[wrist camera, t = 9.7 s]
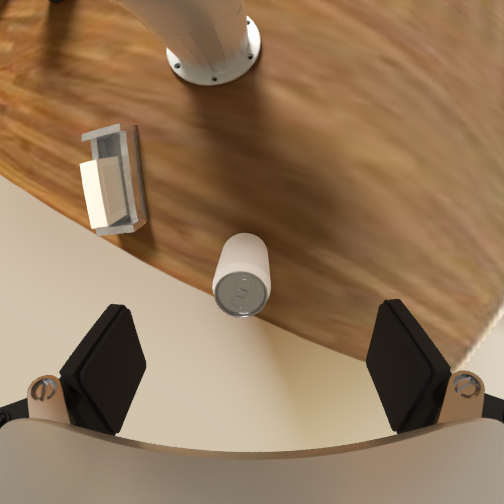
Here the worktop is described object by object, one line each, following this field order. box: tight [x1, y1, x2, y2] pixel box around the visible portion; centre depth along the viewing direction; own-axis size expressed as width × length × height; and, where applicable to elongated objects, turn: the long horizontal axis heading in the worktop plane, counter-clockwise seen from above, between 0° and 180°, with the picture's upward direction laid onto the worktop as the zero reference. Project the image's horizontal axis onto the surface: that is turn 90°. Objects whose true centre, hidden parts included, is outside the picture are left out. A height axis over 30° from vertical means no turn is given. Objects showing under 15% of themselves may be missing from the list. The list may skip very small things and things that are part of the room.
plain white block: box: [80, 156, 130, 229], centre depth 32 cm, size 8×3×8 cm, turn 5°
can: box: [213, 233, 271, 318], centre depth 35 cm, size 6×6×12 cm
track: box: [82, 123, 149, 236], centre depth 34 cm, size 14×6×6 cm, turn 4°
